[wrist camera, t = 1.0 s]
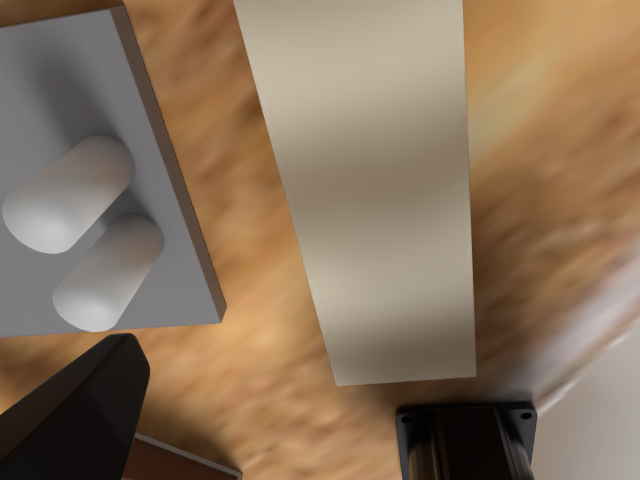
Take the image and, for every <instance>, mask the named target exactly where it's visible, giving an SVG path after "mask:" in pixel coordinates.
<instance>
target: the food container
mask: <svg viewBox="0 0 640 480" xmlns="http://www.w3.org/2000/svg"><path fill="white" fill-rule="evenodd" d="M242 475H243V473H240V472H238V471H235V470H233V469H230V468H227V467H225V466H222V465H220V464H217V463H215V462H212V461H209V460H207V459H204V458H202V457H199V456H196V455H194V454H191V453H189V452H186V451H184V450H181V449H178V448H176V447H173V446H171V445H168V444H165V443H163V442H160V441H158V440H155V439H153V438H150V437H147V436H145V435H142V434H140V433H137V432H136V434H135V438H134V442H133V445H132V449H131V452H130V456H129V459H128V462H127V465H126V468H125V471H124V474H123V476H122V479H121V480H242Z"/></svg>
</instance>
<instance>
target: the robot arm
mask: <svg viewBox="0 0 640 480" xmlns="http://www.w3.org/2000/svg"><path fill="white" fill-rule="evenodd" d="M149 377H150V366H149V363H148V360H147V358H146V356H145V354H144V352H143V350H142V348H141V346H140V344H139V342H138V340H137V338H136V336H134V335H133V334H131V333H119V334H111V335H108V336H107V337H105V338H104V339H103V340H101V341H100V342H99V343H97V344H96V345H94V346H93V347H92V348H90V349H89V350H88V351H86V352H85V353H84V354H82V355H81V356H80V357H78V358H77V359H75V360H74V361H73V362H71V363H70V364H69V365H67V366H66V367H65V368H63V369H62V370H60V371H59V372H58V373H56V374H55V375H54V376H52V377H51V378H50V379H48V380H47V381H46V382H44V383H43V384H41V385H40V386H39V387H37V388H36V389H35V390H33V391H32V392H31V393H29V394H28V395H26V396H25V397H24V398H22V399H21V400H20V401H18V402H17V403H16V404H14V405H13V406H12V407H10V408H9V409H7V410H6V411H5V412H3V413H2V414H1V415H0V480H121V479H122V476H123V474H124V471H125V468H126V465H127V462H128V459H129V456H130V452H131V449H132V445H133V442H134V438H135V434H136V430H137V426H138V422H139V418H140V414H141V410H142V406H143V402H144V398H145V394H146V390H147V386H148V382H149ZM395 414H396V426H397V435H398V444H399V452H400V461H401V470H402V479H403V480H535V479H534V476H533V473H532V470H531V459H532V452H533V445H534V436H535V430H536V422H537V412H536V409H535V406H534V405H533V404H532V403H529V402H506V403H479V404H451V405H423V406H403V407H400V408H398V409H397V410H396V413H395Z"/></svg>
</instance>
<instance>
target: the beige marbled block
mask: <svg viewBox="0 0 640 480" xmlns="http://www.w3.org/2000/svg"><path fill="white" fill-rule="evenodd" d="M233 2H234V5H235V9H236V13H237V17H238V20H239V24H240V28H241V32H242V35H243V39H244V43H245V47H246V50H247V54H248V58H249V62H250V65H251V69H252V73H253V77H254V80H255V84H256V88H257V92H258V95H259V99H260V103H261V107H262V110H263V114H264V118H265V122H266V125H267V129H268V133H269V137H270V140H271V144H272V148H273V152H274V155H275V159H276V163H277V167H278V170H279V174H280V178H281V182H282V185H283V189H284V193H285V196H286V200H287V204H288V208H289V211H290V215H291V219H292V223H293V226H294V230H295V234H296V238H297V241H298V245H299V249H300V253H301V256H302V260H303V264H304V268H305V271H306V275H307V279H308V283H309V286H310V290H311V294H312V298H313V301H314V305H315V309H316V313H317V316H318V320H319V324H320V328H321V331H322V335H323V339H324V343H325V346H326V350H327V354H328V358H329V361H330V365H331V369H332V373H333V376H334V380H335V384H336V386H350V385H364V384H378V383H392V382H406V381H421V380H435V379H449V378H463V377H477V374H476V348H475V321H474V295H473V268H472V242H471V215H470V189H469V162H468V135H467V109H466V82H465V56H464V29H463V3H462V0H233Z"/></svg>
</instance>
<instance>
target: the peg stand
mask: <svg viewBox="0 0 640 480" xmlns="http://www.w3.org/2000/svg"><path fill="white" fill-rule="evenodd" d="M226 308H227V306H226V303H225V300H224V298H223V295H222V292H221V289H220V286H219V283H218V280H217V277H216V274H215V271H214V268H213V265H212V262H211V259H210V256H209V253H208V250H207V247H206V245H205V242H204V239H203V236H202V233H201V230H200V227H199V224H198V221H197V218H196V215H195V212H194V209H193V206H192V203H191V200H190V197H189V194H188V191H187V189H186V186H185V183H184V180H183V177H182V174H181V171H180V168H179V165H178V162H177V159H176V156H175V153H174V150H173V147H172V144H171V141H170V138H169V136H168V133H167V130H166V127H165V124H164V121H163V118H162V115H161V112H160V109H159V106H158V103H157V100H156V97H155V94H154V91H153V88H152V85H151V82H150V80H149V77H148V74H147V71H146V68H145V65H144V62H143V59H142V56H141V53H140V50H139V47H138V44H137V41H136V38H135V35H134V32H133V29H132V27H131V24H130V21H129V18H128V15H127V12H126V9H125V6H124V5H122V6H116V7H110V8H105V9H99V10H93V11H88V12H82V13H76V14H71V15H65V16H59V17H54V18H48V19H42V20H37V21H31V22H25V23H19V24H14V25H8V26H2V27H0V338H2V337H17V336H32V335H47V334H63V333H78V332H102V331H108V330H124V329H139V328H154V327H169V326H185V325H200V324H215V323H221V322H222V319H223V316H224V314H225V311H226Z"/></svg>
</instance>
